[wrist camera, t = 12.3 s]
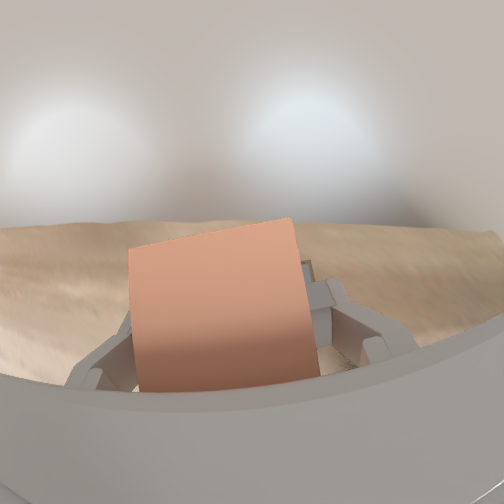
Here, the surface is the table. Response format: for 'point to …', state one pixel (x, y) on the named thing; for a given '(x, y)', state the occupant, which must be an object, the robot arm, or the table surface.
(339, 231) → the table surface
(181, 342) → the terracotta block
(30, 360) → the table surface
